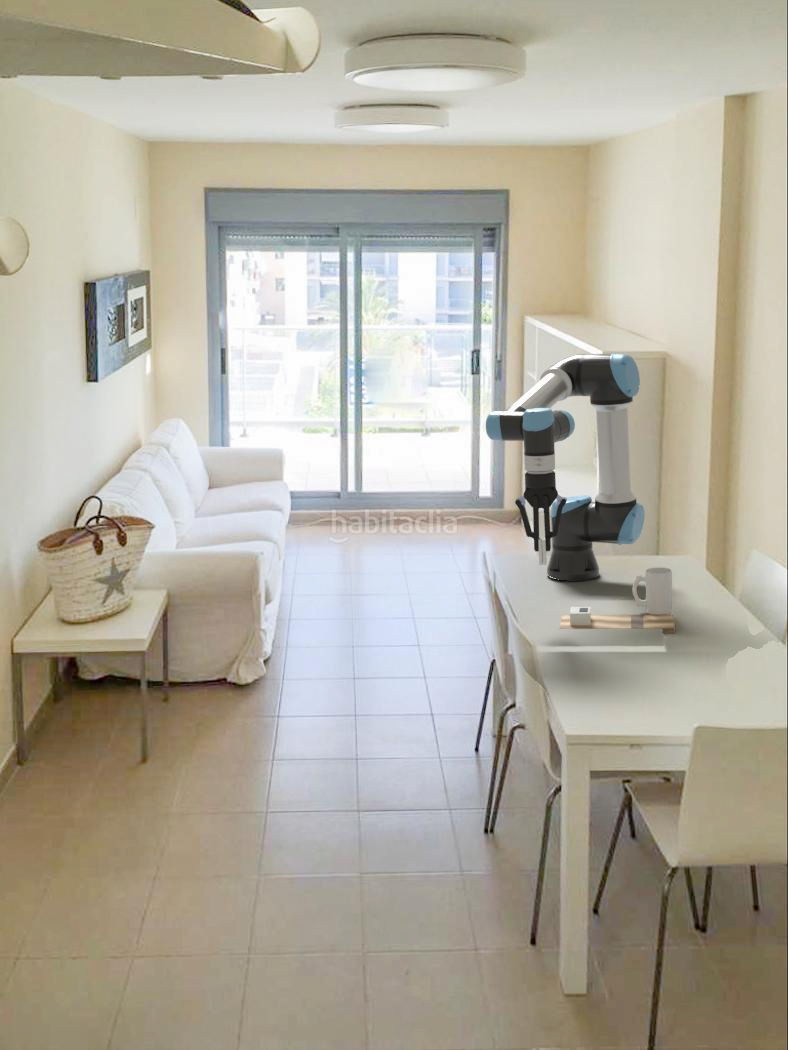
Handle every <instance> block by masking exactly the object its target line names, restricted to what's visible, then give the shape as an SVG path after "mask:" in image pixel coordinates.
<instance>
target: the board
mask: <svg viewBox="0 0 788 1050" xmlns="http://www.w3.org/2000/svg"><path fill="white" fill-rule="evenodd" d="M675 627H676V626H675V620H674V614H672V615H655V614H591V624H590V625H570V614H562V615H561V619H560V624H559V630H562V629H564V630H565V629H566V630H567V629H568V630H569V629H570V630H571V629H572V630H573V629H574V630H575V629H577V630H580V629H583V630H584V629H585V630H586V629H587V630H588V629H589V630H591V629H595V630H597V629H599V630H600V629H605V630H606V629H615V630H617V629H622V630H623V629H639V630H640V629H647V630H648V629H661V630H662V634H675V633H676V632H675V631H676V628H675Z"/></svg>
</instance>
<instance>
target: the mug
mask: <svg viewBox="0 0 788 1050" xmlns="http://www.w3.org/2000/svg"><path fill="white" fill-rule="evenodd" d="M644 572H645V573H644V574H645V575H643V576H642V575H640V574H639V575H638V574H637V575H636V576H635V579H634V581H633V584H632V590H631V591H632V595H633V598H634V599H635V602H636V604H637V606H644V607H645V609H646V613H647V614H649V615H673V614H672V609H673V607H672V606H673V569H672V568H669V567H663V566H659V567H658V566H657V567H650V568H649V567H648V568H646V569H644ZM641 582H644V583H645V599H641V598H640V597H639V596H638V592H637V590H638V589H637V588H638V585H639V584H640V583H641Z"/></svg>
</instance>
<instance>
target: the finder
mask: <svg viewBox="0 0 788 1050" xmlns="http://www.w3.org/2000/svg"><path fill="white" fill-rule="evenodd" d="M569 615H570V625H590V624H591V615H592V607H591V606H571V607H570V611H569Z"/></svg>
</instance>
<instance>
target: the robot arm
mask: <svg viewBox="0 0 788 1050" xmlns="http://www.w3.org/2000/svg"><path fill="white" fill-rule="evenodd" d="M640 381H641V380H640V372H639V367H638V365H637V362H636V361H635V360H634V358H633V357H632V356H631V355H629V354H627V353H626V354H624V353H592V354H591V353H590V354H589V353H588V354H585V353H584V354H583V353H582V354H580V353H579V354H576V355H572V356H568V357H567V358H564V359H562V360H559V361H557V362H556V363H554V364H553V365H550V367H548V368H547V369H546V370H544V372H543V373H542V374H541V376H540V378H539V381H538V382H536V383H535V384H534V385H533V386H532V387H531V388H530V389H528V390H527V391H526V392H525V393H524V394H523V395H522V396H520V397H519V398H518V399H516V401H515V402H513V403H512V404H511V405H510V406H509V407H508V408H507V409H506V410H503V411H502V410H497V411H491V412H490V413H488V415H487V416H486V420H485V431H486V435H487V437H488V438H489V439H490V440H492V441H501V442H508V441H509V442H523V447H524V448H523V450H524V451H523V455H524V456H523V457H524V458H523V459H524V461H523V463H524V470H525V471H526V472H525V473H524V492H523V495H522V496H520V497H517V498H516V499H515V501H514V503H515V505H516V506H517V508H518V509H519V514H520V517H521V519H522V524H523V526H524V531H525V534H526V537H528V538H531V539H533V544H534V545H533V549H534V552H538V563H539V564H538V565H539V566H542V565H543V566H547V568H546V575H547V574H548V575H549V576H551V577H553V578H556V579H559V580H567V581H566V582H582V581H583V580H584V581H590V580H593V579H596V578H597V577H599V576H600V566H599V564H598V561H597V558H596V555H595V553H594V550H593V543H598V544H599V543H600V544H601V543H602V544H612V545H613V544H617V545H620V546H621V545H632V544H634V543H636V542H637V541H638V540H639V538H640V536H641V534H642V530H643V527H644V522H645V517H646V515H645V508H644V506H643V504H640V503H637V495H636V494H634V493H633V492H632V490H631V467H630V466H631V465H630V443H629V439H630V438H629V415H628V414H629V413H628V409H629V408H628V407H630V405H631V404H632V403H633V397H635V396H637V395H638V393H639V390H640V385H641V382H640ZM570 397H589V398H590V399H589V401H590V402H589V403H590V405H591V406H592V407H594V409H595V411H596V430H597V431H596V433H597V434H596V435H597V452H598V453H597V454H598V455H597V456H598V471H599V472H598V475H599V478H598V480H599V493H598V494H597V495H596V496H595V497H594V501H593V500H592V499H593V498H592V496H590V495H574V496H569V497H568V496H567V497H565V496H562V495H560V494H559V492H558V490H557V487H556V485H557V484H556V472H555V469H556V454H555V443H557V442H562V441H564V440H567V438H569V437H570V436H571V435H572V434H573V433H574V430H575V427H576V423H575V419H574V417H573V416H572V414H571V413H570V412H569V411H567V410H561V409H560V410H557V409H556V410H552V407H553V406H554V405H556V403H558V402H561V401H565V400H566V399H567V398H570ZM526 501H527V503H528V504H529V505H530V507H531V508H532V516H533V520H532V521H533V524H532V525H533V531H532V528H531V523H530V520H529V517H528V512H527V510H526V509H527V508H526V506H525V505H526ZM550 508H551V512H550ZM540 509H543V518H544V521H543V522H544V536H543V537H540V512H539V511H540ZM550 513H551V514H550ZM551 542H552V543H551ZM551 548H552V549H551ZM551 550H552V551H551ZM547 552H551V554H550V558H549V560H548V557H547ZM547 561H548V564H547ZM559 580H558V581H559Z"/></svg>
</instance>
